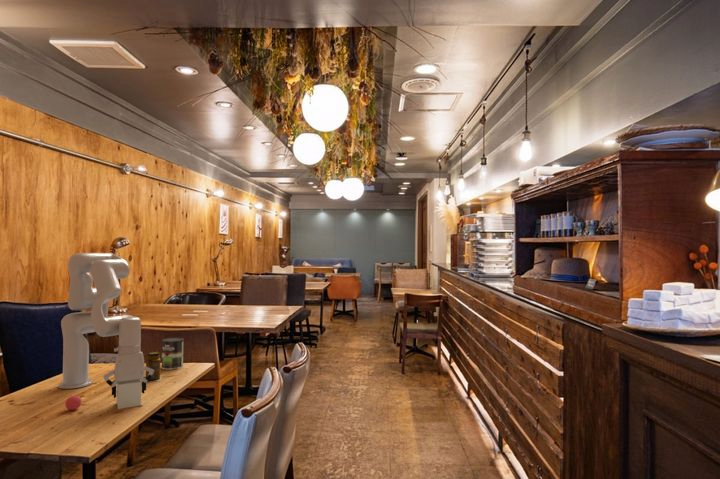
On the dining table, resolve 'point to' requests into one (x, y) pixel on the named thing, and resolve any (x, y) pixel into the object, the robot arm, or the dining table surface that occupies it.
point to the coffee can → (172, 353)
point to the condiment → (153, 366)
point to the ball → (73, 402)
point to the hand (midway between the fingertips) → (129, 394)
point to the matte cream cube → (129, 394)
